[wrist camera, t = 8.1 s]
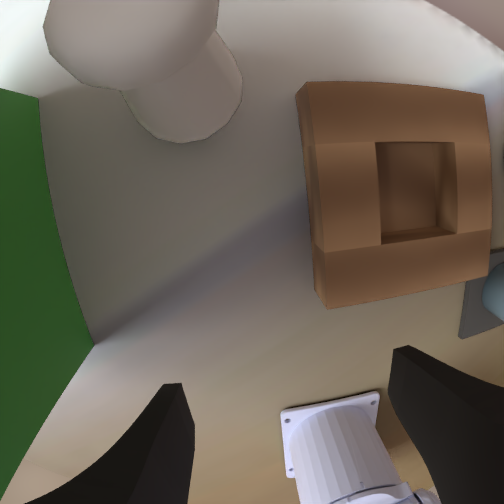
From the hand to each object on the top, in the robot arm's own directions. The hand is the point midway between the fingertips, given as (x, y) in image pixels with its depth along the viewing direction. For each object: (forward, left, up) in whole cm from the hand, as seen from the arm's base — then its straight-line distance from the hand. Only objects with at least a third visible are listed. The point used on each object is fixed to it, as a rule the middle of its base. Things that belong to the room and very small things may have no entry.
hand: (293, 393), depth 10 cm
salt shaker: (+12, +3, -11) cm, 16 cm away
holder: (+5, -9, -10) cm, 15 cm away
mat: (-4, -19, -10) cm, 22 cm away
